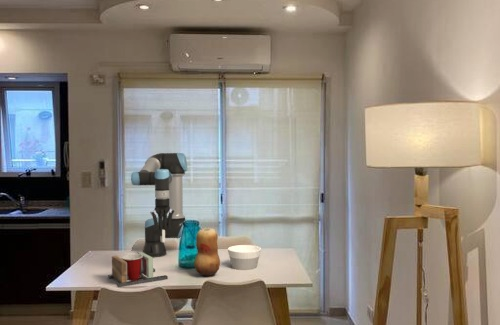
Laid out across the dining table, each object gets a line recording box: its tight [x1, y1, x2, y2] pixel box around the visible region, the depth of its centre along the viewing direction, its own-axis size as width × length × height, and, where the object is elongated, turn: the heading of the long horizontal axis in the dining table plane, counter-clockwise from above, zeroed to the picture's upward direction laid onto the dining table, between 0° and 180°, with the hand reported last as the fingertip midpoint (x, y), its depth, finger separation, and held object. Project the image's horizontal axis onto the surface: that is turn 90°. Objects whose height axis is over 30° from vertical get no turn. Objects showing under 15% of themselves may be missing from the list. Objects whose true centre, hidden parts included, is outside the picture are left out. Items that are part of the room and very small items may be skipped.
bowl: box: [227, 244, 262, 271], centre depth 268 cm, size 19×19×11 cm
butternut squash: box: [193, 227, 221, 277], centre depth 250 cm, size 14×13×25 cm
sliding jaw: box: [137, 251, 154, 278], centre depth 247 cm, size 3×16×10 cm, turn 33°
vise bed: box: [107, 255, 169, 288], centre depth 245 cm, size 25×19×12 cm
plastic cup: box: [121, 253, 143, 281], centre depth 244 cm, size 11×11×12 cm
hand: (162, 241), depth 253 cm, fingers closed
